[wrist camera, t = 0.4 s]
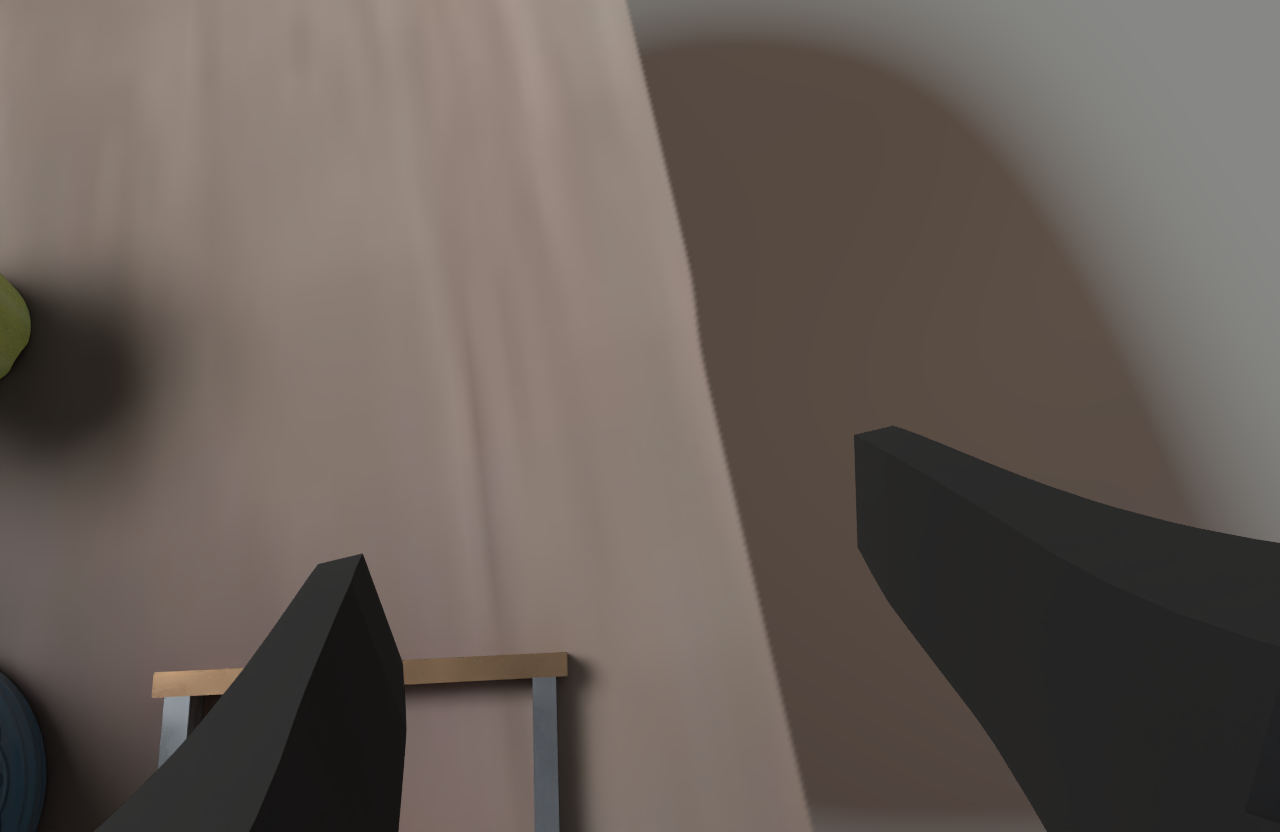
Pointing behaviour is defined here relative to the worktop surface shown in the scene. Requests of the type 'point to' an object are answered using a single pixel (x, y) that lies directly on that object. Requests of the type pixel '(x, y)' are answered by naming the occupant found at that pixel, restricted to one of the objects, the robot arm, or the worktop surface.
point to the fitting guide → (191, 686)
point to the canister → (20, 762)
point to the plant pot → (12, 325)
